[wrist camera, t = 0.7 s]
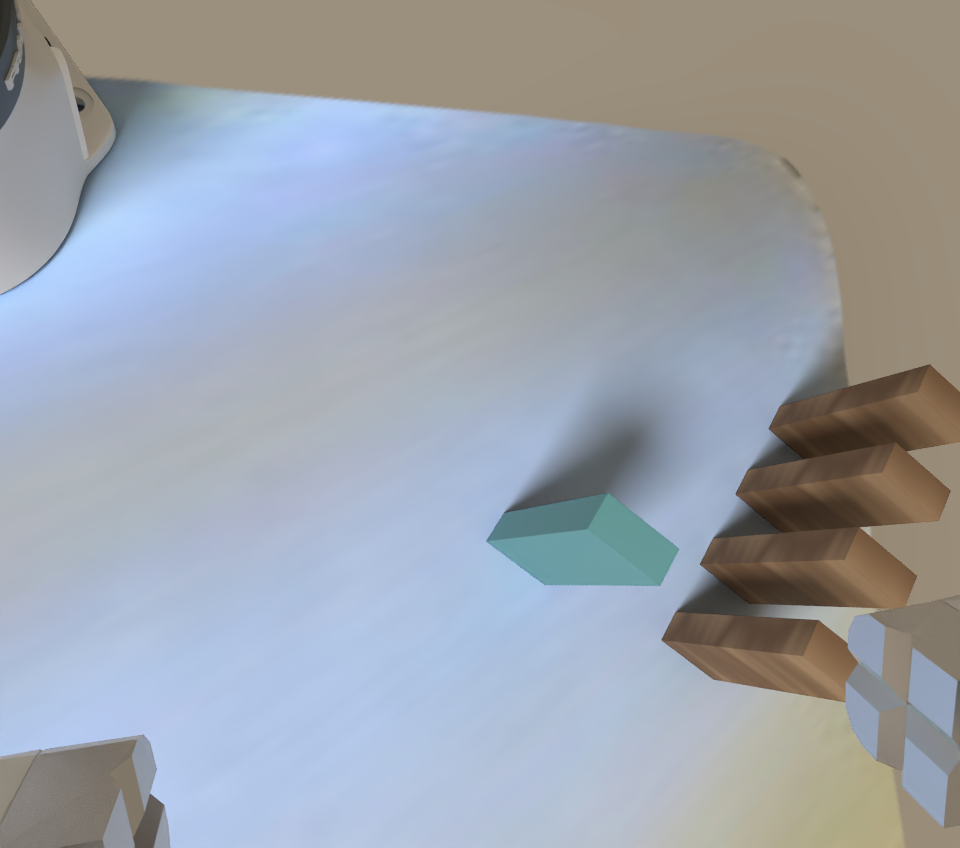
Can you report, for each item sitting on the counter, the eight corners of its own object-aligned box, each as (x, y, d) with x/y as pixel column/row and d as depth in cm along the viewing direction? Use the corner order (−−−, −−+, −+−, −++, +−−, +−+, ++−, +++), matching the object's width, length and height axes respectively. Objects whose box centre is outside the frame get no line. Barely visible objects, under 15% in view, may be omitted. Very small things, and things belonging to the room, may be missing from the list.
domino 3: (782, 532, 56) (938, 521, 45) (735, 494, 55) (882, 472, 44) (794, 508, 56) (950, 490, 45) (747, 469, 55) (895, 442, 44)
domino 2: (813, 467, 58) (970, 440, 47) (768, 428, 57) (917, 391, 46) (824, 444, 58) (981, 412, 47) (780, 406, 57) (929, 364, 46)
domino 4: (749, 603, 54) (904, 608, 43) (699, 564, 53) (844, 559, 42) (761, 577, 54) (917, 575, 43) (713, 538, 54) (859, 527, 43)
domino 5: (713, 679, 52) (865, 705, 41) (661, 640, 51) (802, 656, 40) (726, 651, 52) (880, 669, 41) (675, 611, 52) (818, 620, 41)
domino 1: (544, 584, 49) (660, 585, 38) (486, 541, 48) (587, 529, 37) (561, 556, 49) (679, 548, 38) (503, 512, 49) (608, 492, 38)
